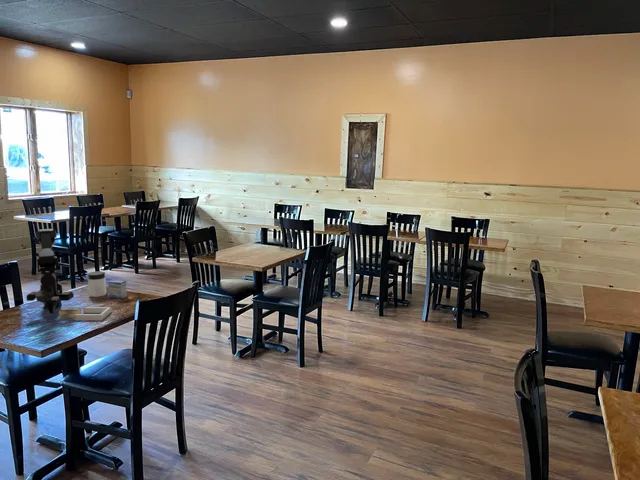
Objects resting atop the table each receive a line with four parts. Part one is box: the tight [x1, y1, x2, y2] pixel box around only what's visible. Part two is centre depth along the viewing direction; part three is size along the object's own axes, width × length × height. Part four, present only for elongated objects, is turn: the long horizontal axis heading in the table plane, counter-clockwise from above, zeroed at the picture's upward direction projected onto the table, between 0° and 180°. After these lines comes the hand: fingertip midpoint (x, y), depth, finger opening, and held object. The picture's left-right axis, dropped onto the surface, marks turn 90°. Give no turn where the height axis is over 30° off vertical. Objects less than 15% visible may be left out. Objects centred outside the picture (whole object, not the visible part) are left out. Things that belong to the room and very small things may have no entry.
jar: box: [87, 270, 107, 298], centre depth 251 cm, size 9×8×12 cm
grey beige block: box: [58, 306, 82, 319], centre depth 218 cm, size 8×5×4 cm, turn 100°
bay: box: [73, 306, 112, 321], centre depth 219 cm, size 12×11×2 cm
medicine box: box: [107, 279, 128, 299], centre depth 248 cm, size 8×4×9 cm, turn 81°
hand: (51, 313), depth 218 cm, fingers closed
